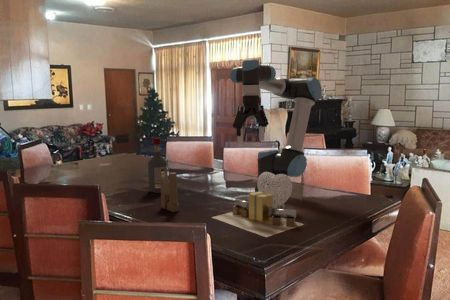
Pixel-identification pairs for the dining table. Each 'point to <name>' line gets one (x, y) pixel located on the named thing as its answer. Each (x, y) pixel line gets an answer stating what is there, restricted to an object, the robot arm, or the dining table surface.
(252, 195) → the yellow tall block
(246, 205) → the tan silver-topped block
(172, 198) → the wooden block
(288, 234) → the dining table surface
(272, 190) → the decorative heart
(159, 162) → the liquor
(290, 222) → the grey brown bridge piece
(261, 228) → the board
